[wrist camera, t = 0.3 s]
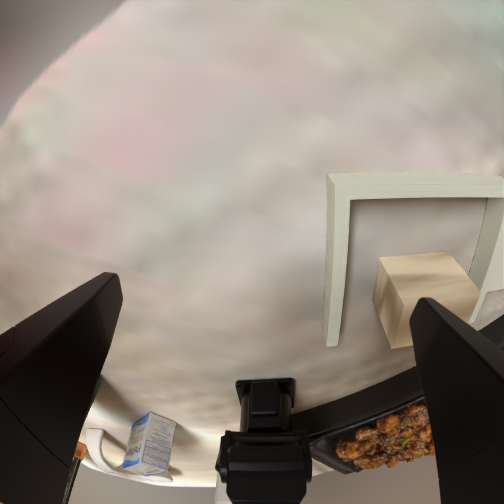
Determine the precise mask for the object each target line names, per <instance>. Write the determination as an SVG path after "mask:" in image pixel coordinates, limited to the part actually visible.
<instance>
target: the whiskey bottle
mask: <svg viewBox="0 0 504 504" xmlns="http://www.w3.org/2000/svg"><path fill="white" fill-rule="evenodd" d="M86 450H87V446H85V445H84V444H82V443H80V442H78V443H77V447H76V451H75V454H74V458H73V462H72V465H71V470H70V476H69V479H68V482H67V486H66V490H65V495H64V499H63V504H68V501H69V497H70V494H71V491H72V487H73V484H74V481H75V478H76V475H77V471H78V468H79V465H80V462H81V461H82V460H83V458H84V456H85V453H86Z"/></svg>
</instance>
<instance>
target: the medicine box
mask: <svg viewBox="0 0 504 504" xmlns="http://www.w3.org/2000/svg"><path fill="white" fill-rule="evenodd" d="M175 426H176V423H175V422H173V421H171V420H169V419H166V418H164V417H162V416H159V415H157V414H154V413H152V412H150V413H148V414H147V415H146V416H144V417H143V418H142V419H140V420H139V421H137V422H136V423H134V424H133V426H132V429H131V433H130V437H129V441H128V445H127V449H126V453H125V457H124V461H123V466H122V468H123V469H126V470H128V471H130V472H133V473H136V474H139V475H142V476H150V475H154V474H158V473H162V472H166V471H168V468H169V462H170V456H171V449H172V444H173V438H174V432H175Z"/></svg>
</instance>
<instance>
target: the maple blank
mask: <svg viewBox="0 0 504 504" xmlns="http://www.w3.org/2000/svg"><path fill="white" fill-rule="evenodd" d="M480 294H481V292H480V291H479V290H478V288H477V287H476V286H475V284H474V283H473V282H472V281H471V279H470V278H469V277H468V275H467V274H466V273H465V272H464V270H463V269H462V268H461V267H460V265H459V264H458V263H457V262H456V260H455V259H454V258H453V257H452V256H451V254H450V253H449V252H438V253H427V254H415V255H404V256H393V257H381V258H379V261H378V268H377V274H376V281H375V287H374V293H373V298H372V301H373V303H374V305H375V308H376V310H377V313H378V315H379V318H380V320H381V323H382V326H383V328H384V331H385V333H386V336H387V339H388V341H389V344H390V347H391V349H395V348H401V347H406V346H412V345H413V342H412V336H411V331H410V326H409V319H410V316H411V314H412V312H413V310H414V308H415V306H416V304H417V301H418V300H419V299H420V298H421V297H431V298H433V299H434V300H436V301H437V302H439V303H440V304H441V305H443V306H444V307H446V308H447V309H448V310H450V311H451V312H452V313H454V314H455V315H457V316H458V317H459V318H461V319H462V320H463V321H465V322H466V323H467V324H468V323H469V320H470V318H471V316H472V314H473V311H474V309H475V306H476V304H477V301H478V299H479V296H480Z"/></svg>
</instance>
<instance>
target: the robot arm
mask: <svg viewBox="0 0 504 504" xmlns="http://www.w3.org/2000/svg"><path fill="white" fill-rule="evenodd" d="M122 302H123V295H122V290H121V285H120V280H119V276H118V275H117V274H116V273H110V272H104V273H102V274H100V275H98V276H96V277H95V278H93V279H91V280H89V281H88V282H86V283H84V284H83V285H81V286H79V287H77V288H76V289H74V290H72V291H71V292H69V293H67V294H66V295H64V296H62V297H60V298H59V299H57V300H55V301H54V302H52V303H50V304H49V305H47V306H46V307H44V308H42V309H41V310H39V311H37V312H36V313H34V314H33V315H31V316H29V317H28V318H26V319H25V320H23V321H21V322H20V323H18V324H17V325H15V327H12V328H10V329H9V330H7V331H6V332H4V333H2V334H1V335H0V504H63V499H64V495H65V490H66V486H67V482H68V478H69V474H70V470H71V469H70V468H71V465H72V462H73V458H74V454H75V451H76V447H77V443H78V440H79V437H80V433H81V430H82V427H83V423H84V420H85V417H86V414H87V411H88V408H89V405H90V402H91V399H92V396H93V393H94V390H95V387H96V384H97V381H98V379H99V376H100V373H101V370H102V368H103V365H104V362H105V359H106V357H107V354H108V351H109V349H110V346H111V342H112V339H113V335H114V331H115V328H116V324H117V320H118V317H119V313H120V310H121V306H122ZM409 326H410V331H411V336H412V342H413V347H414V353H415V359H416V365H417V369H418V373H419V377H420V381H421V385H422V389H423V394H424V398H425V402H426V407H427V412H428V417H429V422H430V427H431V432H432V438H433V443H434V450H435V456H436V462H437V470H438V478H439V488H440V498H441V504H504V351H502V350H501V349H500V348H498V347H497V346H496V345H495V344H493V343H492V342H491V341H490V340H488V339H487V338H486V337H484V336H483V335H482V334H481V333H479V332H478V331H477V330H475V329H474V328H473V327H471V326H470V325H469V324H467V323H466V322H465V321H463V320H462V319H461V318H459V317H458V316H457V315H455V314H454V313H452V312H451V311H450V310H448V309H447V308H446V307H444V306H443V305H441V304H440V303H439V302H437V301H436V300H434V299H433V298H431V297H421V298H420V299H419V300H418V301H417V304H416V306H415V308H414V310H413V312H412V314H411V316H410V319H409ZM236 390H237V394H238V397H239V401H240V405H241V422H240V432H234V431H228V430H226V432H225V435H224V436H222V437H221V443H220V450H219V454H218V458H217V461H216V465H215V469H216V471H217V472H218V473H219V474H220V477H221V482H222V483H225V484H226V494H227V496H228V498H229V499H230V501H231V503H232V504H300V502H301V501H302V499H303V498H304V496H305V494H306V483H310V482H311V478H312V458H311V451H310V445H309V439H308V432H307V430H302V431H292V413H291V409H292V408H293V407H294V380H293V379H291V378H288V379H272V380H248V381H237V382H236Z"/></svg>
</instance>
